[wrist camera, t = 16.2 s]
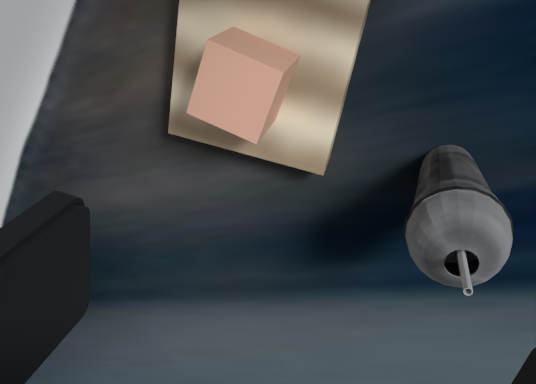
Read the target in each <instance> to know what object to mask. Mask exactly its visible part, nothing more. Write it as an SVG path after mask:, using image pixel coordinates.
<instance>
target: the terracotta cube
mask: <svg viewBox="0 0 536 384" xmlns="http://www.w3.org/2000/svg"><path fill="white" fill-rule="evenodd" d="M299 58H300V55H298V54H296V53H294V52H291V51H289V50H287V49H284V48H282V47H280V46H277V45H275V44H273V43H271V42H268V41H266V40H264V39H261V38H259V37H257V36H254V35H252V34H250V33H248V32H245V31H243V30H241V29H238V28H236V27H234V26H233V27H231V28H229V29H227V30H225V31H223V32H221V33H219V34H217V35H215V36H213V37H211V38H209V39H207V42H206V45H205V49H204V52H203V56H202V59H201V63H200V66H199V70H198V73H197V77H196V81H195V84H194V88H193V91H192V95H191V98H190V102H189V105H188V109H187V112H186V113H188V114H190V115H192V116H194V117H196V118H199V119H201V120H203V121H205V122H208V123H210V124H212V125H214V126H217V127H219V128H221V129H223V130H225V131H228V132H230V133H232V134H234V135H237V136H239V137H241V138H243V139H245V140H248V141H250V142H252V143H254V144H257V143H258V142H259V141H260V139H261V138H262V137H263V136H264V134H265V133H266V132H267V130H268V129H269V128H270V126H271V125H272V124H273V123H274V121H275V120H276V117H277V115H278V112H279V110H280V107H281V104H282V102H283V99H284V97H285V94H286V92H287V89H288V86H289V84H290V81H291V79H292V76H293V74H294V71H295V68H296V66H297V63H298V61H299Z"/></svg>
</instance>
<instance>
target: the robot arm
mask: <svg viewBox="0 0 536 384" xmlns="http://www.w3.org/2000/svg"><path fill="white" fill-rule="evenodd" d="M89 248H90V211H89V208H87V207H85V206H84V202H83V200H82V199H81V198H79V197H75V196H72V195H69V194H66V193H62V192H59V191H54V192H52V193H50V194H48V195H47V196H46V197H44V198H43V199H41V200H40V201H39V202H37V203H36V204H34V205H33V206H31V207H30V208H29V209H27V210H26V211H24V212H23V213H21V214H20V215H19V216H17V217H16V218H14V219H13V220H12V221H10V222H9V223H7V224H6V225H4V226H3V227H2V228H0V384H25V382H26V381H27V380H28V379H29V378H30V377H31V376H32V374H33V373H34V372H35V371H36V370H37V369H38V367H39V366H40V365H41V364H42V363H43V362H44V361H45V359H46V358H47V357H48V356H49V355H50V354H51V353H52V351H53V350H54V349H55V348H56V347H57V346H58V345H59V343H60V342H61V341H62V340H63V339H64V338H65V336H66V335H67V334H68V333H69V332H70V331H71V330H72V328H73V327H74V326H75V325H76V324H77V323H78V322H79V320H80V319H81V318H82V317H83V315H84V314H85V312H86V310H87V307H88V303H89ZM512 384H536V348H534V349H533V350H532V351H531V353H530V354H529V356H528V358H527V359H526V361H525V363H524V364H523V366H522V367H521V369H520V371H519V372H518V374H517V376H516V377H515V379H514V380H513V382H512Z"/></svg>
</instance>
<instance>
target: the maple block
mask: <svg viewBox="0 0 536 384" xmlns="http://www.w3.org/2000/svg"><path fill="white" fill-rule="evenodd" d="M370 1H371V0H179V10H178V22H177V33H176V45H175V57H174V68H173V80H172V92H171V104H170V115H169V127H168V133H170V134H173V135H177V136H180V137H184V138H188V139H191V140H195V141H199V142H202V143H206V144H210V145H213V146H217V147H221V148H224V149H228V150H232V151H235V152H239V153H243V154H246V155H250V156H254V157H257V158H261V159H265V160H268V161H272V162H275V163H279V164H283V165H286V166H290V167H294V168H297V169H301V170H305V171H308V172H312V173H316V174H319V175H324V172H325V170H326V167H327V164H328V162H329V158H330V154H331V151H332V147H333V143H334V139H335V135H336V131H337V128H338V124H339V120H340V116H341V112H342V108H343V105H344V101H345V97H346V93H347V89H348V85H349V82H350V78H351V74H352V70H353V66H354V62H355V59H356V55H357V51H358V47H359V43H360V39H361V36H362V32H363V28H364V24H365V20H366V16H367V13H368V9H369V5H370ZM233 26H234V27H236V28H238V29H241V30H243V31H245V32H248V33H250V34H252V35H254V36H257V37H259V38H261V39H264V40H266V41H268V42H271V43H273V44H275V45H277V46H280V47H282V48H284V49H287V50H289V51H291V52H294V53H296V54H298V55H300V58H299V61H298V63H297V66H296V68H295V71H294V74H293V76H292V79H291V81H290V84H289V86H288V89H287V92H286V94H285V97H284V99H283V102H282V104H281V107H280V110H279V112H278V115H277V117H276V120H275V121H274V123H273V124H272V125H271V126H270V128H269V129H268V130H267V132H266V133H265V134H264V136H263V137H262V138H261V139H260V141H259V142H258V143H257V144H254V143H252V142H250V141H248V140H245V139H243V138H241V137H239V136H237V135H234V134H232V133H230V132H228V131H225V130H223V129H221V128H219V127H217V126H214V125H212V124H210V123H208V122H205V121H203V120H201V119H199V118H196V117H194V116H192V115H190V114H188V113H186V112H187V109H188V105H189V102H190V98H191V95H192V91H193V88H194V84H195V81H196V77H197V73H198V70H199V66H200V63H201V59H202V56H203V52H204V49H205V45H206V42H207V39H209V38H211V37H213V36H215V35H217V34H219V33H221V32H223V31H225V30H227V29H229V28H231V27H233Z"/></svg>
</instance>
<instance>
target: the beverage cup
mask: <svg viewBox="0 0 536 384" xmlns="http://www.w3.org/2000/svg"><path fill="white" fill-rule="evenodd" d="M403 233H404V237H405V241H406V245H407V248H408V249H409V253H410V255H411V257H412V259H413V260H414V262H415V263H416V265H417V266H418V268H419V269H420V270H421V271H422V272H423V273H425V274H426V275H427V276H429V277H430V278H431V279H433V280H434V281H437V282H439V283H442V284H444V285H447V286H454V287H463V292H464V294H465V295H467V296H469V295H472V293H473V289H472V286H475V285H477V284H480V283H483V282H485V281H487V280H489V279H490V278H491V277H493V276H494V275H495V274H497V273H498V272H499V271H500V270H501V268H502V267H503V265H504V264H505V262H506V261H507V259H508V257H509V254H510V250H511V246H512V240H513V238H512V236H513V225H512V219H511V216H510V214H509V213H508V211H507V209H506V208H505V206H504V204H503V203H501V202H500V201H499V200H498V199H497V197H496V196H495V195H494V194H492V192H491V190H490V189H489V187H488V185H487V183H486V181H485V179H484V177H483V175H482V174H481V172H480V170H479V168H478V166H477V164H476V163H475V161H474V159H473V158H472V157H471V155H470V154H469V153H468V152H467V151H466V150H465V149H463V148H461V147H459V146H456V145H443V146H438V147H437V148H435V149H433V150H431V151H430V152H429V153H428V154H427V155H426V156H425V158H424V160H423V162H422V166H421V168H420V173H419V178H418V183H417V189H416V194H415V199H414V204H413V206H412V208H411V209H410V211H409V213H408V215H407V217H406V219H405V225H404V232H403Z"/></svg>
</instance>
